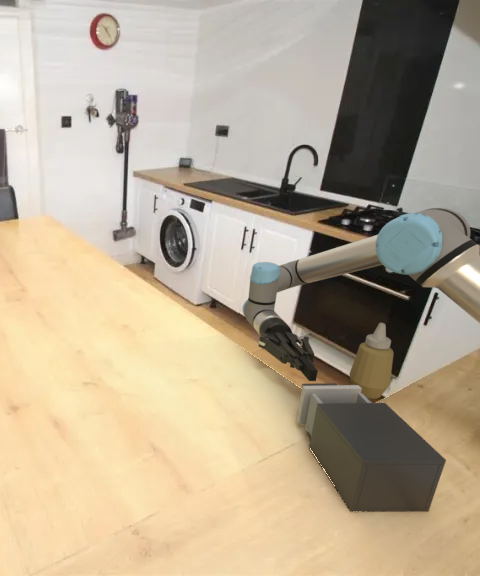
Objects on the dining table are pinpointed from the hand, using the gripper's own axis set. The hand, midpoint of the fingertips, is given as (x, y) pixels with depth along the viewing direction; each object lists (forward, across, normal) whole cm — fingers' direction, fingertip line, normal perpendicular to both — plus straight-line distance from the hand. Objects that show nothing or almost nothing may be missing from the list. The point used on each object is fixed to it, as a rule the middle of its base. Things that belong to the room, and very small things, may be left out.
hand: (313, 375), depth 91 cm
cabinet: (+21, 0, -8) cm, 23 cm away
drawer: (+11, 0, -7) cm, 13 cm away
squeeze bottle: (-5, -16, -8) cm, 19 cm away
